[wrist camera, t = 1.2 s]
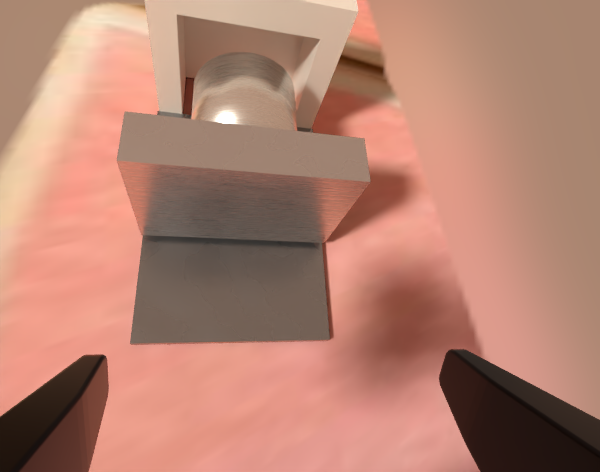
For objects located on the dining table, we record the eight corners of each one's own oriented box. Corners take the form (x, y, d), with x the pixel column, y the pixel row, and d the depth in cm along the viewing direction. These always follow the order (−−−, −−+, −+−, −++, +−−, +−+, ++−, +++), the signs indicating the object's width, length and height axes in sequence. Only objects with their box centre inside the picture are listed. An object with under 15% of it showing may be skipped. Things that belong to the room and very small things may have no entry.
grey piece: (324, 243, 25) (370, 182, 18) (141, 235, 22) (116, 160, 15) (315, 141, 28) (352, 57, 21) (154, 123, 25) (139, 21, 19)
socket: (309, 132, 29) (358, 11, 20) (159, 115, 27) (140, -31, 18) (306, 82, 31) (348, -48, 22) (166, 62, 29) (151, -94, 20)
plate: (327, 340, 23) (329, 339, 23) (131, 344, 20) (130, 343, 20) (311, 132, 29) (312, 128, 29) (158, 114, 27) (157, 111, 26)
